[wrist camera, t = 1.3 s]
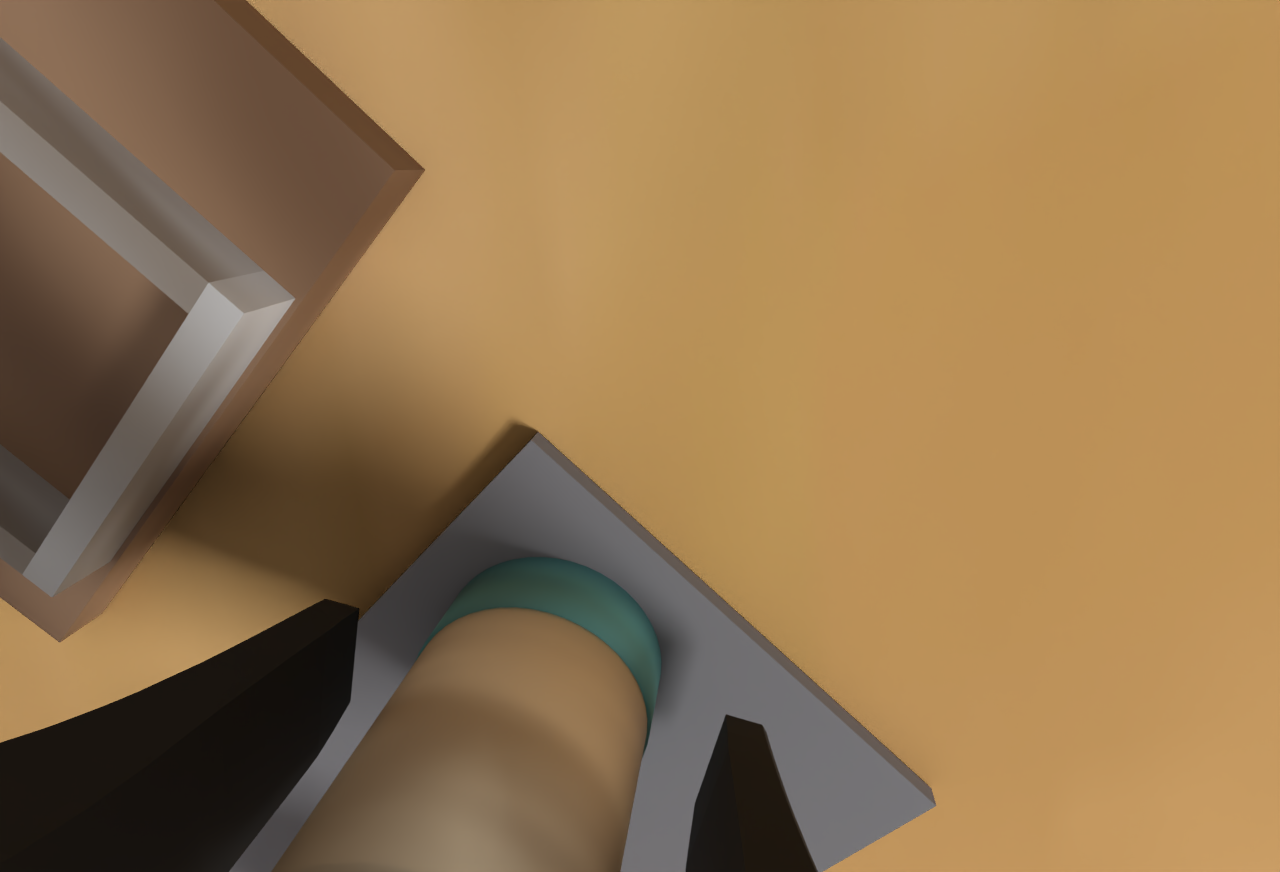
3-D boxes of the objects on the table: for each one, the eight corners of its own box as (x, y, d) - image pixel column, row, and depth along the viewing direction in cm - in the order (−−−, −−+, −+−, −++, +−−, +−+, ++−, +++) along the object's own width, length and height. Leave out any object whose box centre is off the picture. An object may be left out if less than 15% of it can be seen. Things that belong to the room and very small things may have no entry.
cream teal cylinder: (563, 776, 14) (442, 1158, 9) (405, 645, 14) (169, 965, 8) (708, 664, 13) (674, 1037, 7) (538, 513, 12) (362, 794, 7)
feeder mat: (488, 1050, 19) (482, 1067, 18) (172, 816, 17) (159, 830, 17) (931, 788, 14) (936, 806, 13) (537, 431, 12) (531, 440, 12)
